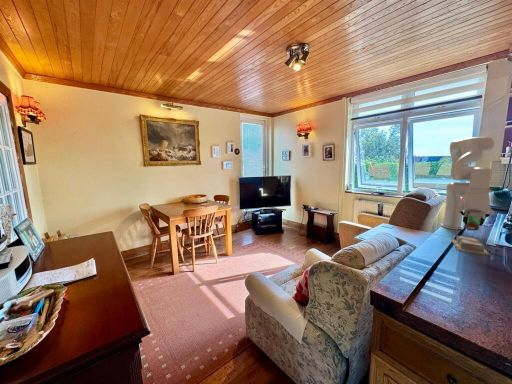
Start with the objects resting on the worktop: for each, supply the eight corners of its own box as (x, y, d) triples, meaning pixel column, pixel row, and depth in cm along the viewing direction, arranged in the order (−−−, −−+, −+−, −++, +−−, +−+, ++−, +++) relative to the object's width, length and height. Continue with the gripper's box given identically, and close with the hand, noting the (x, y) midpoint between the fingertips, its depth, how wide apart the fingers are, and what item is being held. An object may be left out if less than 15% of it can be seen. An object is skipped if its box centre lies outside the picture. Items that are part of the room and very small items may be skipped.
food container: (484, 232, 113) (486, 213, 111) (467, 230, 116) (470, 212, 115) (479, 226, 123) (481, 208, 121) (464, 224, 126) (466, 207, 125)
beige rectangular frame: (451, 240, 131) (452, 234, 131) (479, 244, 125) (480, 238, 124) (457, 250, 118) (458, 242, 118) (488, 255, 112) (490, 247, 111)
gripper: (498, 191, 115) (492, 225, 118) (455, 189, 124) (450, 220, 127) (504, 193, 109) (497, 229, 112) (458, 190, 118) (453, 223, 121)
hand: (472, 224), depth 120 cm, fingers closed on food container, 5 cm apart
